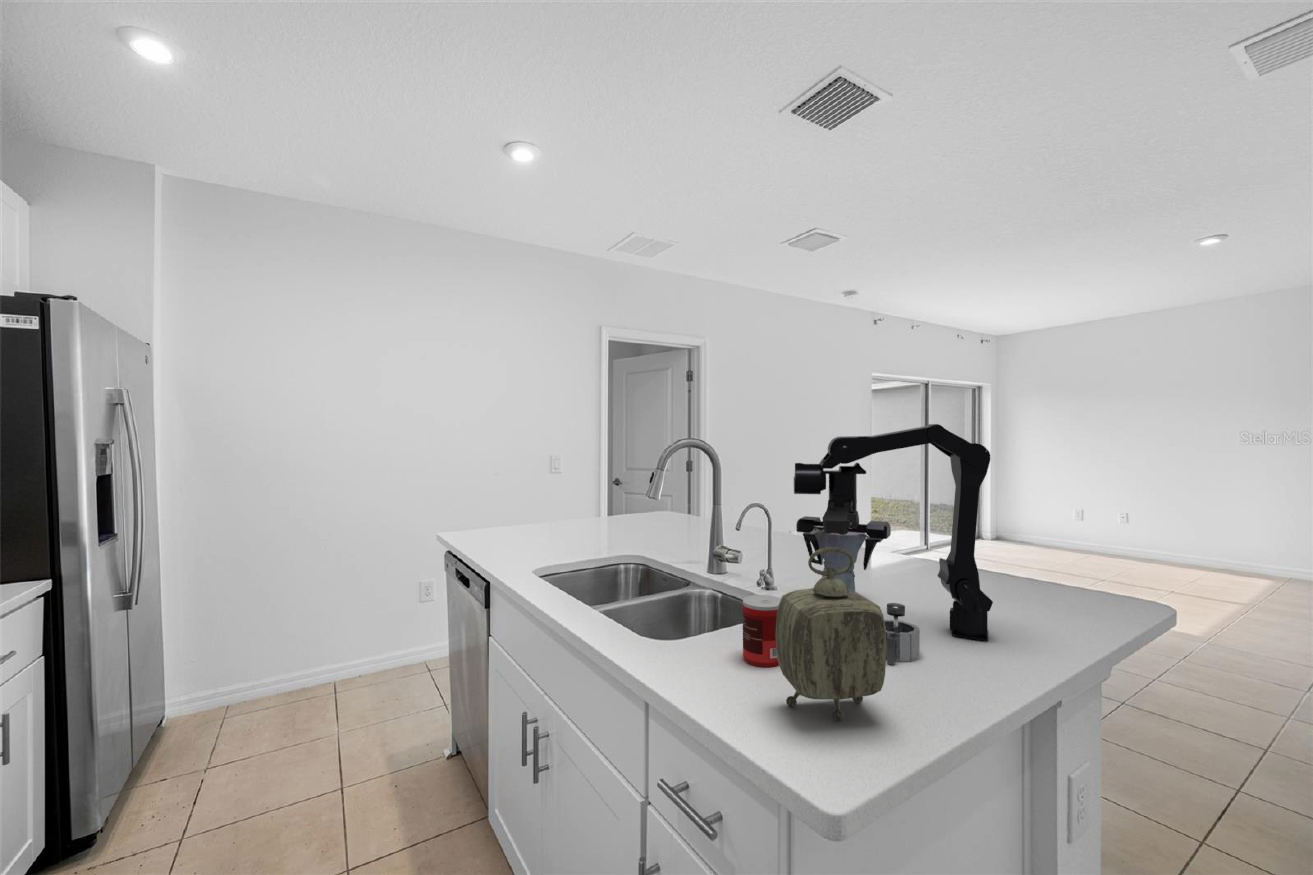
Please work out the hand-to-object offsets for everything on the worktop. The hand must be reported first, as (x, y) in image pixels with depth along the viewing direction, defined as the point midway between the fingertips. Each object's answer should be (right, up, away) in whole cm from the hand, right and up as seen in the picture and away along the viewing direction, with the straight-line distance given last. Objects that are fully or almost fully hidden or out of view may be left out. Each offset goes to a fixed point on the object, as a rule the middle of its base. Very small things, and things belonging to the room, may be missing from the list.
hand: (842, 567), depth 125 cm
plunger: (+5, -13, -14) cm, 20 cm away
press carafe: (+5, -13, -16) cm, 21 cm away
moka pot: (+5, -13, +21) cm, 25 cm away
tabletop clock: (-14, -14, -38) cm, 43 cm away
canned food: (-20, -14, -17) cm, 30 cm away
